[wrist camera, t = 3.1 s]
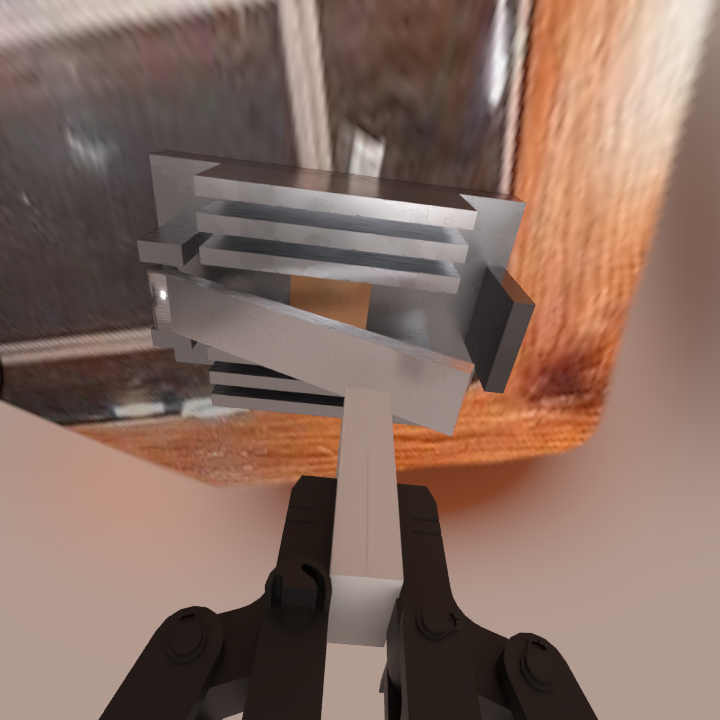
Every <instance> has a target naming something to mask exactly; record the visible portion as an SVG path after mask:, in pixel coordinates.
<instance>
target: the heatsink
mask: <svg viewBox="0 0 720 720" xmlns="http://www.w3.org/2000/svg"><path fill="white" fill-rule="evenodd" d="M149 157H150V165H151V173H152V181H153V188H154V196H155V204H156V212H157V219H158V228H156V229H155V230H153V231H151V232H150V233H148V234H146V235H145V236H143V237H141V238H140V239H138V240H137V245H138V251H139V257H140V261H141V262H149V263H158V264H163V265H171V266H174V267H177V268H178V270H179V271H181V272H184V273H187V274H190V275H193V276H196V277H200V278H203V279H206V280H209V281H212V282H215V283H219V284H222V285H225V286H228V287H231V288H234V289H238V290H241V291H244V292H247V293H250V294H253V295H257V296H260V297H263V298H266V299H269V300H272V301H276V302H279V303H282V304H285V305H288V306H291V307H295V308H298V309H301V310H304V311H307V312H310V313H314V314H317V315H320V316H323V317H326V318H329V319H333V320H336V321H339V322H342V323H345V324H348V325H352V326H355V327H358V328H361V329H364V330H367V331H371V332H374V333H377V334H380V335H383V336H386V337H390V338H393V339H396V340H399V341H402V342H405V343H409V344H412V345H415V346H418V347H421V348H424V349H428V350H431V351H434V352H437V353H440V354H443V355H447V356H450V357H453V358H456V359H459V360H462V361H466V362H469V363H472V364H475V366H474V369H473V372H472V375H471V379H470V382H469V385H468V388H467V392H468V389H469V386H470V383H471V380H472V376H473V373H474V370H476V373H477V375H478V377H479V380H480V382H481V385H482V387H483V389H484V391H486V392H496V393H503V392H504V390H505V387H506V384H507V382H508V379H509V376H510V373H511V371H512V368H513V365H514V362H515V360H516V357H517V354H518V351H519V349H520V346H521V343H522V341H523V338H524V335H525V332H526V330H527V327H528V324H529V321H530V319H531V316H532V313H533V310H534V308H535V303H534V302H533V301H532V300H531V299H530V298H529V296H528V295H527V294H526V293H525V292H524V291H523V289H522V288H521V287H520V286H519V285H518V284H517V282H516V281H515V280H514V279H513V278H512V276H511V275H510V274H509V273H508V272H507V271H506V267H507V264H508V260H509V257H510V254H511V251H512V248H513V244H514V241H515V238H516V235H517V231H518V228H519V225H520V222H521V219H522V215H523V212H524V209H525V206H526V202H524V201H523V200H521V199H519V198H518V197H516V196H514V195H507V194H499V193H491V192H483V191H476V190H468V189H460V188H453V187H445V186H437V185H430V184H422V183H414V182H406V181H399V180H391V179H383V178H376V177H368V176H360V175H353V174H345V173H337V172H330V171H322V170H314V169H306V168H299V167H291V166H283V165H276V164H268V163H260V162H253V161H245V160H237V159H229V158H222V157H214V156H206V155H199V154H191V153H183V152H176V151H168V150H164V151H160V152H156V153H152V154H149ZM151 333H152V340H153V346H159V347H169V348H174V351H175V359H176V361H177V362H186V363H196V364H206V365H213V366H212V367H211V369H210V371H209V374H210V384H216V386H215V387H214V389H213V391H212V393H211V399H212V405H213V406H223V407H234V408H244V409H254V410H264V411H274V412H285V413H295V414H305V415H315V416H325V417H336V418H342V415H343V407H344V399H345V397H344V396H342V395H339V394H336V393H334V392H331V391H328V390H326V389H323V388H320V387H318V386H315V385H312V384H309V383H307V382H304V381H301V380H299V379H296V378H293V377H291V376H288V375H285V374H283V373H280V372H277V371H275V370H272V369H269V368H267V367H264V366H261V365H259V364H256V363H253V362H251V361H248V360H245V359H243V358H240V357H237V356H235V355H232V354H229V353H227V352H224V351H221V350H219V349H216V348H213V347H211V346H208V345H205V344H203V343H200V342H197V341H195V340H192V339H189V338H186V337H184V336H181V335H178V334H176V333H173V332H171V333H165V332H160V331H157V330H156V329H155V325H154V326H153V327H152V328H151ZM392 423H397V424H407V425H417V426H422V425H419V424H416V423H414V422H411V421H408V420H406V419H403V418H400V417H398V416H395V415H392Z"/></svg>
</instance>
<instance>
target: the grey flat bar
mask: <svg viewBox="0 0 720 720" xmlns="http://www.w3.org/2000/svg"><path fill="white" fill-rule="evenodd" d="M146 272H147V279H148V285H149V292H150V299H151V305H152V312H153V318H154V325H155V329H156V330H157V331H160V332H165V333H171V332H173V333H176V334H178V335H181V336H184V337H186V338H189V339H192V340H195V341H197V342H200V343H203V344H205V345H208V346H211V347H213V348H216V349H219V350H221V351H224V352H227V353H229V354H232V355H235V356H237V357H240V358H243V359H245V360H248V361H251V362H253V363H256V364H259V365H261V366H264V367H267V368H269V369H272V370H275V371H277V372H280V373H283V374H285V375H288V376H291V377H293V378H296V379H299V380H301V381H304V382H307V383H309V384H312V385H315V386H318V387H320V388H323V389H326V390H328V391H331V392H334V393H336V394H339V395H342V396H344V397H345V391H346V387H348V388H357V389H366V390H375V391H385V392H390V397H391V411H392V415H395V416H398V417H400V418H403V419H406V420H408V421H411V422H414V423H416V424H419V425H422V426H424V427H427V428H430V429H433V430H435V431H438V432H441V433H443V434H446V435H449V436H451V437H452V434H453V432H454V429H455V427H456V424H457V421H458V418H459V414H460V411H461V408H462V405H463V401H464V398H465V395H466V392H467V388H468V385H469V382H470V379H471V375H472V372H473V369H474V366H475V364H472V363H469V362H466V361H462V360H459V359H456V358H453V357H450V356H447V355H443V354H440V353H437V352H434V351H431V350H428V349H424V348H421V347H418V346H415V345H412V344H409V343H405V342H402V341H399V340H396V339H393V338H390V337H386V336H383V335H380V334H377V333H374V332H371V331H367V330H364V329H361V328H358V327H355V326H352V325H348V324H345V323H342V322H339V321H336V320H333V319H329V318H326V317H323V316H320V315H317V314H314V313H310V312H307V311H304V310H301V309H298V308H295V307H291V306H288V305H285V304H282V303H279V302H276V301H272V300H269V299H266V298H263V297H260V296H257V295H253V294H250V293H247V292H244V291H241V290H238V289H234V288H231V287H228V286H225V285H222V284H219V283H215V282H212V281H209V280H206V279H203V278H200V277H196V276H193V275H190V274H187V273H184V272H181V271H179V270H178V268H177V267H174V266H171V265H156V266H151V267H149V268H147V269H146Z"/></svg>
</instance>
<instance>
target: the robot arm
mask: <svg viewBox="0 0 720 720" xmlns="http://www.w3.org/2000/svg"><path fill="white" fill-rule="evenodd" d="M0 388H1V369H0ZM386 638H387V663H386V667H385V669H384V673H383V675H382V679H381V683H380V689H379V692H380V693H384V704H385V705H384V706H385V720H598V719H597V717H596V715H595V713H594V711H593V710H592V708H591V706H590V704H589V702H588V701H587V699H586V697H585V695H584V693H583V691H582V690H581V688H580V686H579V684H578V682H577V681H576V679H575V677H574V675H573V673H572V671H571V670H570V668H569V666H568V664H567V662H566V661H565V660H564V659H563V657H562V656H561V654H560V653H559V652H558V650H557V649H556V648H555V647H554V646H553V645H552V644H550V643H549V642H548V641H547V640H546V639H544V638H542V637H540V636H537V635H535V634H532V633H518V634H516V635H514V636H512V637H510V639H507V638H505V637H503V636H501V635H498V634H496V633H494V632H491V631H489V630H487V629H485V628H482V627H480V626H479V625H477V624H475V623H474V622H472V621H471V620H470V619H469V618H468V617H466V616H465V615H464V614H463V612H462V611H461V610H460V609H459V607H458V606H457V604H456V602H455V600H454V598H453V596H452V593H451V588H450V582H449V577H448V571H447V565H446V559H445V553H444V547H443V541H442V537H441V529H440V523H439V517H438V511H437V505H436V501H435V500H434V498H433V496H432V495H431V493H430V492H429V490H428V488H427V487H426V486H416V485H405V484H397V481H396V467H395V453H394V439H393V425H392V411H391V397H390V392H385V391H375V390H366V389H357V388H348V387H346V391H345V399H344V407H343V415H342V423H341V431H340V439H339V447H338V458H337V469H336V479H335V478H325V477H315V476H304V475H302V476H301V478H300V479H299V480H298V482H297V483H296V484H295V486H294V487H293V488H292V491H291V496H290V501H289V507H288V511H287V516H286V522H285V526H284V531H283V535H282V540H281V545H280V551H279V555H278V561H277V565H276V568H275V569H274V570H273V571H272V572H271V573H270V575H269V577H268V579H267V581H266V584H265V593H264V594H263V595H262V597H260V599H258V600H256V601H255V602H253V603H252V604H250V605H248V606H245V607H242V608H239V609H235V610H232V611H228V612H224V613H220V614H216V613H215V612H213V611H212V610H210V609H208V608H207V607H199V606H192V607H188V608H184V609H181V610H179V611H177V612H176V613H174V614H173V615H171V616H169V617H168V618H167V619H166V620H165V621H164V622H163V623H162V624H161V626H160V627H159V628H158V629H157V630H156V632H155V633H154V635H153V636H152V638H151V640H150V641H149V643H148V644H147V646H146V647H145V649H144V650H143V652H142V653H141V655H140V656H139V658H138V660H137V661H136V663H135V664H134V666H133V667H132V669H131V671H130V672H129V673H128V675H127V677H126V678H125V680H124V681H123V683H122V684H121V686H120V687H119V689H118V691H117V692H116V694H115V695H114V697H113V698H112V700H111V701H110V703H109V704H108V706H107V707H106V709H105V710H104V712H103V714H102V715H101V717H100V718H99V720H222V719H223V718H226V717H229V716H232V715H235V714H238V713H241V712H243V717H242V720H321V710H322V697H323V684H324V671H325V658H326V646H327V645H326V644H327V643H340V644H351V645H363V646H375V647H384V645H385V641H386Z"/></svg>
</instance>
